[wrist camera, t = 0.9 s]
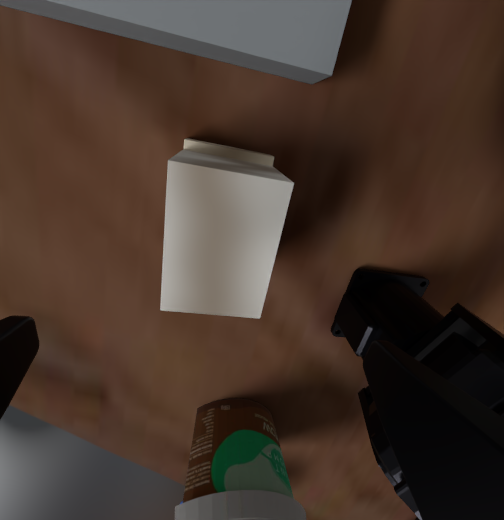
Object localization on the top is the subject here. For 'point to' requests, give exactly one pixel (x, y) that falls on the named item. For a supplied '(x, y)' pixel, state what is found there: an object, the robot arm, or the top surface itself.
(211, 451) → the food container
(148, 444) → the top surface
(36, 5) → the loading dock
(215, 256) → the white milk carton
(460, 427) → the robot arm
